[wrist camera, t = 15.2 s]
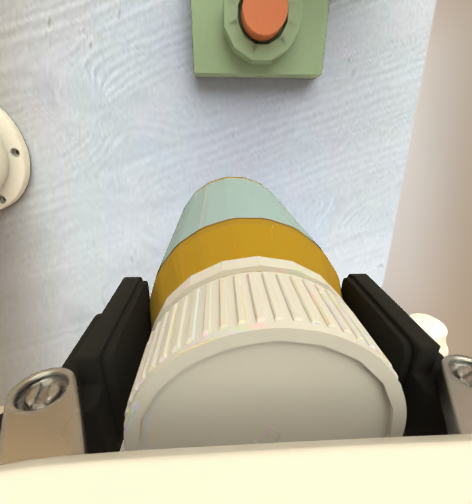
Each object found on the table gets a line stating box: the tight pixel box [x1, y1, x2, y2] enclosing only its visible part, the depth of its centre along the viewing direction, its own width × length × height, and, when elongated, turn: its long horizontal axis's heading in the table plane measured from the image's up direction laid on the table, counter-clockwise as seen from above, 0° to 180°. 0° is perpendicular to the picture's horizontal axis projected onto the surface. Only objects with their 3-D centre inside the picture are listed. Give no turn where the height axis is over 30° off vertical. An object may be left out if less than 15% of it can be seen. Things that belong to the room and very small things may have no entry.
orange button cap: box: [241, 0, 288, 41], centre depth 23 cm, size 4×4×2 cm
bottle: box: [124, 177, 407, 451], centre depth 13 cm, size 7×7×15 cm
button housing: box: [191, 0, 329, 79], centre depth 26 cm, size 12×8×4 cm, turn 90°
